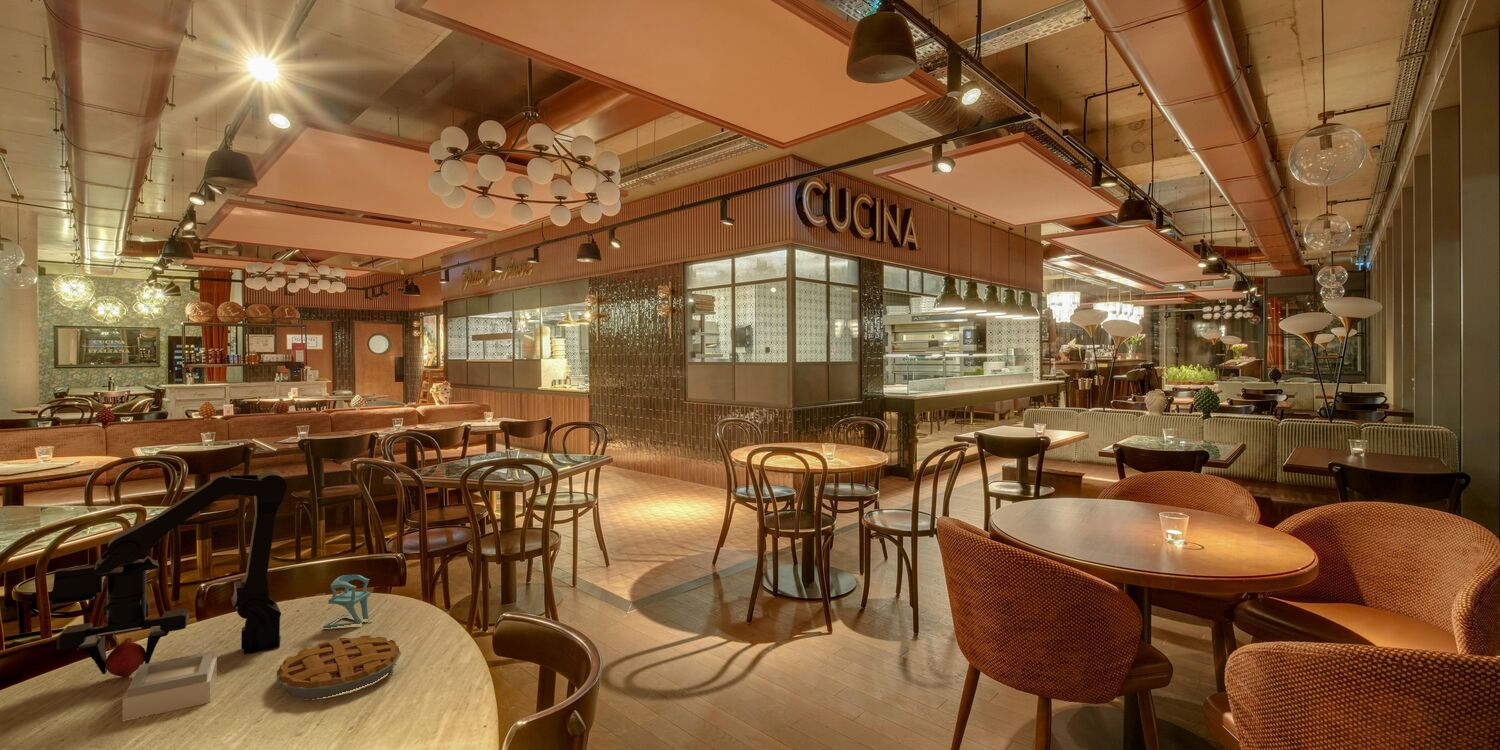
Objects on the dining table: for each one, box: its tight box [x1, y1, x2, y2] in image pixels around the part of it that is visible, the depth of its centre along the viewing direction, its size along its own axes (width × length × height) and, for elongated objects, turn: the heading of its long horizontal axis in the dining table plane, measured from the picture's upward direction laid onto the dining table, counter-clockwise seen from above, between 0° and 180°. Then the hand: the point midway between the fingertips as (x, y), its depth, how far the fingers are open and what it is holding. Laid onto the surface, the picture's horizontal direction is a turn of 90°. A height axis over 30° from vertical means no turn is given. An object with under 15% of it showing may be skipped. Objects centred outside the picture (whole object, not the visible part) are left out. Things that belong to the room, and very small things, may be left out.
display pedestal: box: [122, 651, 218, 721], centre depth 122 cm, size 12×12×6 cm
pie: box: [276, 634, 402, 701], centre depth 132 cm, size 22×22×5 cm
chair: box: [322, 574, 371, 629], centre depth 157 cm, size 8×8×12 cm
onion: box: [106, 637, 146, 678], centre depth 129 cm, size 6×6×8 cm
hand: (126, 669), depth 129 cm, fingers closed on onion, 6 cm apart
